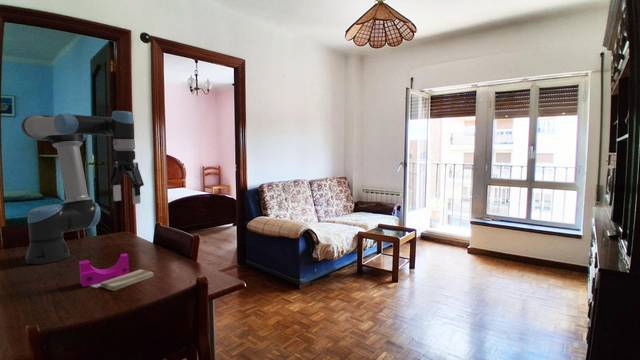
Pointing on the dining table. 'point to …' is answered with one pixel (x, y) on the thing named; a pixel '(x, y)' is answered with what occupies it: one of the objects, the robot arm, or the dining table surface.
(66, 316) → the dining table surface
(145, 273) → the board
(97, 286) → the mat
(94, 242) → the dining table surface
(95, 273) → the toy block
